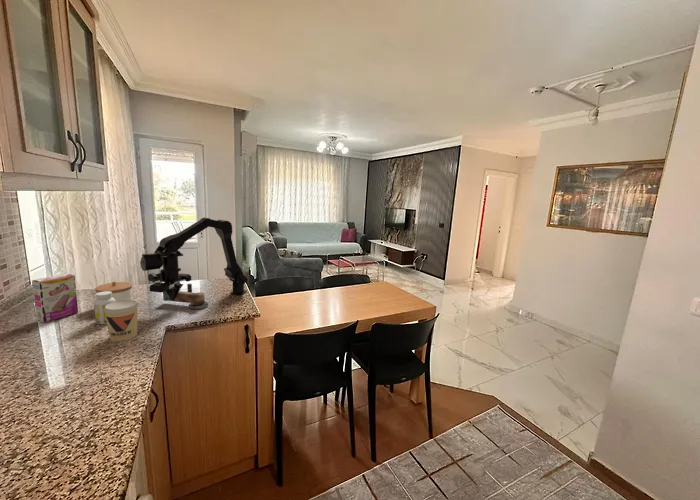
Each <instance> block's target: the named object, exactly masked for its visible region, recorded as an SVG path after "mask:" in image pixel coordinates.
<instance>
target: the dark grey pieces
mask: <svg viewBox="0 0 700 500" xmlns="http://www.w3.org/2000/svg"><path fill="white" fill-rule="evenodd" d="M186 286H187V290H186V291H187V292H192V293H193V285H192V283H187V285H186ZM208 307H209V302H208V301H206V300H205V303H204V304H203V305H198V306H196V305H193V304H192V303H188V309H189V310H192V311H199V310H204V309H207V308H208Z"/></svg>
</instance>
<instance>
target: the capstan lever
mask: <svg viewBox="0 0 700 500" xmlns="http://www.w3.org/2000/svg"><path fill="white" fill-rule="evenodd" d="M162 301H165V302H167V301H169V302H172V301H171V300H170V298H169V296H168V294H167V292H166V291H165V292H162ZM205 301H206V299H205V292H193V291H192V292H188V291H181V290H180V291H179V292H178V294H177V297H176V299H175V301H174V302H176V303H177V302H178V303H187V304H190V303H192V304H193V305H196V306H198V305H203V304H204V303H205Z"/></svg>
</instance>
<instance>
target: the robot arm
mask: <svg viewBox="0 0 700 500" xmlns="http://www.w3.org/2000/svg"><path fill="white" fill-rule="evenodd" d="M207 228H213V229H214V230H215V232H216V234H217V235H218V237H219V238H220V241H221V245H222V248H223V253H224V257H225V261H226V267H225V268H223V271H224V273H225V274H224V276H226V277H227V278H228V279H229V281H230V282H232V291H231V292H229V295H237V296H243V295H244V294H245V293H246V292H247V291H248V290H246V289H245V284H246V283H248V280H249V279H248V277H246V276H245V275H244V273H243V269H242V268H241V266H240V265H239V264H238V262H237V256H236V252H235V249H234V244H233V240H232V235H233V225H232V223H231V222H230V221H229V220H224V219H217V220H215V219H211V218H209V217H202V218H200V220H198V221H195V223H194V222H193V224H191V225H190V226H187V227H186V228H184V229H183V230H181V231H180V232H177V233H174V234H170V235H168V236H166V237H163V238H162V239H160V242H159V245H158V246H157V248H156V249H155V251H154V253H153V252H152V253H142V254H141V258H140V261H139V263H140V269H141V270H142V272H144V271H152V270H153V271H154V270H160V271H159V272H158V273H155V272H152V273H149V274H148V275H147V279H148V281H149V282H150V283H151V282H152V284H151V285H149V286H148V287H149V288H148V289H149V292H153V293H163V292H165V291H166V292H167V294H168V296H169V298H170V300H171V301H170V302H175V299H176V297H177V294H178V292H179V291H181V289H182V287H183V286H184V283H181V282H183V281H184V280H185V281H186V282H191V281H192V276H191V274H189V273H180V272H181V271H182V268H181V267H179V257H183V256H184V254H183V253H182V252H181V251H180V249H181V248H182V247H183V246H184V245H185V244H186V242H187V241H188V240H190V239H192V238H193V237H194V236H196V235H198V234H200V233H201V232H202V231H204V230H206V229H207ZM161 268H162V269H161Z"/></svg>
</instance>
